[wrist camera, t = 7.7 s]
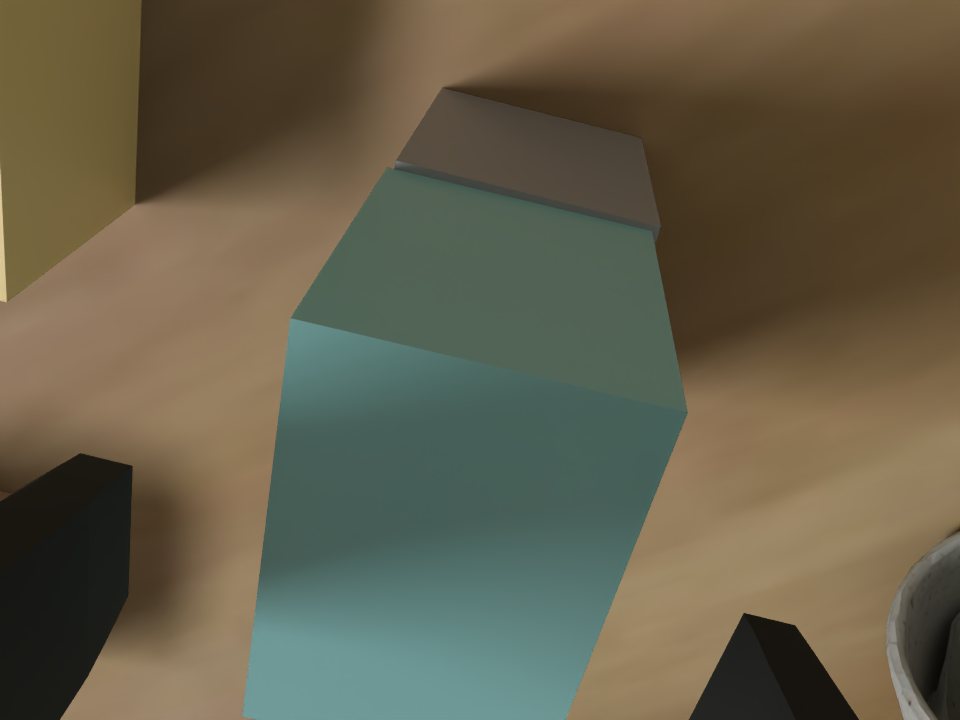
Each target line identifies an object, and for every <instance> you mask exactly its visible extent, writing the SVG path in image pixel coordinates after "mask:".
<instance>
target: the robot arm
mask: <svg viewBox="0 0 960 720" xmlns="http://www.w3.org/2000/svg"><path fill="white" fill-rule="evenodd" d="M131 496H132V466H131V465H126V464H122V463H118V462H114V461H110V460H106V459H102V458H97V457H93V456H89V455H85V454H81V453H80V454H78V455H77V456H75V457H73V458H71V459H70V460H68V461H66V462H64V463H63V464H61V465H59V466H57V467H56V468H54V469H52V470H51V471H49V472H47V473H45V474H44V475H42V476H40V477H39V478H37V479H35V480H34V481H32V482H30V483H29V484H27V485H25V486H24V487H22V488H20V489H19V490H17V491H16V492H14V493H12V494H11V495H9V496H7V497H6V498H4V499H2V500H1V501H0V720H60V719H61V717H62V716H63V714H64V713H65V711H66V709H67V708H68V706H69V705H70V703H71V702H72V700H73V699H74V697H75V696H76V694H77V692H78V691H79V689H80V688H81V686H82V685H83V683H84V681H85V680H86V678H87V677H88V675H89V673H90V671H91V669H92V667H93V665H94V663H95V661H96V659H97V658H98V656H99V654H100V652H101V650H102V648H103V646H104V644H105V642H106V640H107V638H108V636H109V634H110V632H111V630H112V628H113V626H114V624H115V621H116V619H117V617H118V615H119V613H120V611H121V609H122V607H123V605H124V603H125V601H126V599H127V597H128V585H129V555H130V526H131ZM689 720H859V719H858V717H857V716H856V714H855V713H854V712H853V710H852V709H851V707H850V706H849V704H848V703H847V701H846V700H845V698H844V697H843V695H842V694H841V692H840V691H839V689H838V688H837V686H836V685H835V683H834V682H833V680H832V679H831V677H830V676H829V674H828V673H827V671H826V670H825V668H824V667H823V665H822V664H821V662H820V661H819V659H818V658H817V656H816V655H815V653H814V652H813V650H812V649H811V647H810V646H809V644H808V643H807V642H806V640H805V639H804V637H803V636H802V634H801V633H800V632H799V630H798V629H797V627H796V626H795V625H791V624H787V623H783V622H779V621H775V620H771V619H767V618H762V617H758V616H754V615H750V614H746V613H744V614H743V616H742V618H741V620H740V622H739V624H738V626H737V627H736V629H735V631H734V633H733V635H732V637H731V639H730V641H729V643H728V645H727V647H726V649H725V651H724V653H723V655H722V657H721V659H720V661H719V662H718V664H717V666H716V668H715V670H714V672H713V674H712V676H711V678H710V680H709V682H708V684H707V686H706V688H705V690H704V692H703V694H702V695H701V697H700V699H699V701H698V703H697V705H696V707H695V709H694V711H693V713H692V715H691V717H690V719H689Z"/></svg>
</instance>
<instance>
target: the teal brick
mask: <svg viewBox="0 0 960 720" xmlns="http://www.w3.org/2000/svg"><path fill="white" fill-rule="evenodd" d="M687 413H688V411H687V406H686V401H685V396H684V391H683V386H682V381H681V376H680V370H679V365H678V360H677V355H676V350H675V345H674V340H673V335H672V330H671V325H670V320H669V315H668V310H667V305H666V300H665V294H664V289H663V284H662V279H661V274H660V269H659V264H658V259H657V254H656V249H655V244H654V239H653V234H652V231H650V230H645V229H641V228H637V227H633V226H629V225H625V224H621V223H616V222H612V221H608V220H604V219H600V218H596V217H592V216H587V215H583V214H579V213H575V212H571V211H567V210H562V209H558V208H554V207H550V206H546V205H542V204H538V203H533V202H529V201H525V200H521V199H517V198H513V197H508V196H504V195H500V194H496V193H492V192H488V191H484V190H479V189H475V188H471V187H467V186H463V185H459V184H454V183H450V182H446V181H442V180H438V179H434V178H430V177H425V176H421V175H417V174H413V173H409V172H405V171H400V170H396V169H392V168H388V167H387V169H386V170H385V172H384V173H383V175H382V176H381V178H380V179H379V181H378V183H377V184H376V186H375V187H374V189H373V190H372V192H371V193H370V195H369V197H368V198H367V200H366V201H365V203H364V204H363V206H362V208H361V209H360V211H359V212H358V214H357V215H356V217H355V218H354V220H353V222H352V223H351V225H350V226H349V228H348V229H347V231H346V232H345V234H344V236H343V237H342V239H341V240H340V242H339V243H338V245H337V246H336V248H335V250H334V251H333V253H332V254H331V256H330V257H329V259H328V261H327V262H326V264H325V265H324V267H323V268H322V270H321V271H320V273H319V275H318V276H317V278H316V279H315V281H314V282H313V284H312V285H311V287H310V289H309V290H308V292H307V293H306V295H305V296H304V298H303V300H302V301H301V303H300V304H299V306H298V307H297V309H296V310H295V312H294V314H293V315H292V317H291V318H290V327H289V335H288V343H287V352H286V360H285V368H284V376H283V385H282V393H281V401H280V410H279V418H278V426H277V434H276V443H275V451H274V459H273V468H272V476H271V484H270V492H269V501H268V509H267V517H266V526H265V534H264V542H263V550H262V559H261V567H260V575H259V584H258V592H257V600H256V608H255V617H254V625H253V633H252V641H251V650H250V658H249V666H248V675H247V683H246V691H245V699H244V708H243V717H247V718H251V719H256V720H566V717H567V714H568V712H569V709H570V707H571V704H572V702H573V699H574V697H575V694H576V692H577V689H578V687H579V684H580V682H581V679H582V677H583V674H584V672H585V669H586V667H587V664H588V662H589V659H590V657H591V654H592V652H593V649H594V647H595V644H596V642H597V639H598V637H599V634H600V632H601V629H602V627H603V624H604V622H605V619H606V617H607V614H608V611H609V609H610V606H611V604H612V601H613V599H614V596H615V594H616V591H617V589H618V586H619V584H620V581H621V579H622V576H623V574H624V571H625V569H626V566H627V564H628V561H629V559H630V556H631V554H632V551H633V549H634V546H635V544H636V541H637V539H638V536H639V534H640V531H641V529H642V526H643V524H644V521H645V519H646V516H647V514H648V511H649V508H650V506H651V503H652V501H653V498H654V496H655V493H656V491H657V488H658V486H659V483H660V481H661V478H662V476H663V473H664V471H665V468H666V466H667V463H668V461H669V458H670V456H671V453H672V451H673V448H674V446H675V443H676V441H677V438H678V436H679V433H680V431H681V428H682V426H683V423H684V421H685V418H686V416H687Z"/></svg>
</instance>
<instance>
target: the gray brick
mask: <svg viewBox="0 0 960 720" xmlns="http://www.w3.org/2000/svg"><path fill="white" fill-rule="evenodd" d="M395 169H396V170H400V171H405V172H409V173H413V174H417V175H421V176H425V177H430V178H434V179H438V180H442V181H446V182H450V183H454V184H459V185H463V186H467V187H471V188H475V189H479V190H484V191H488V192H492V193H496V194H500V195H504V196H508V197H513V198H517V199H521V200H525V201H529V202H533V203H538V204H542V205H546V206H550V207H554V208H558V209H562V210H567V211H571V212H575V213H579V214H583V215H587V216H592V217H596V218H600V219H604V220H608V221H612V222H616V223H621V224H625V225H629V226H633V227H637V228H641V229H645V230H650V231H652V234H653V239H654V244H655V243H656V241H657V238H658V235H659V232H660V229H661V224H660V219H659V215H658V210H657V206H656V201H655V197H654V192H653V188H652V183H651V179H650V174H649V170H648V165H647V161H646V156H645V152H644V147H643V143H642V138H639V137H635V136H631V135H628V134H624V133H620V132H616V131H612V130H608V129H604V128H600V127H596V126H592V125H588V124H584V123H580V122H576V121H572V120H568V119H564V118H560V117H556V116H552V115H548V114H544V113H540V112H536V111H532V110H528V109H525V108H521V107H517V106H513V105H509V104H505V103H501V102H497V101H493V100H489V99H485V98H481V97H477V96H473V95H469V94H465V93H461V92H457V91H453V90H449V89H445V88H442V89H441V91H440V92H439V94H438V95H437V97H436V98H435V100H434V102H433V103H432V105H431V106H430V108H429V109H428V111H427V113H426V114H425V116H424V117H423V119H422V121H421V122H420V124H419V125H418V127H417V128H416V130H415V132H414V133H413V135H412V136H411V138H410V139H409V141H408V143H407V144H406V146H405V147H404V149H403V150H402V152H401V154H400V155H399V157H398V158H397V160H396V164H395Z"/></svg>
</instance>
